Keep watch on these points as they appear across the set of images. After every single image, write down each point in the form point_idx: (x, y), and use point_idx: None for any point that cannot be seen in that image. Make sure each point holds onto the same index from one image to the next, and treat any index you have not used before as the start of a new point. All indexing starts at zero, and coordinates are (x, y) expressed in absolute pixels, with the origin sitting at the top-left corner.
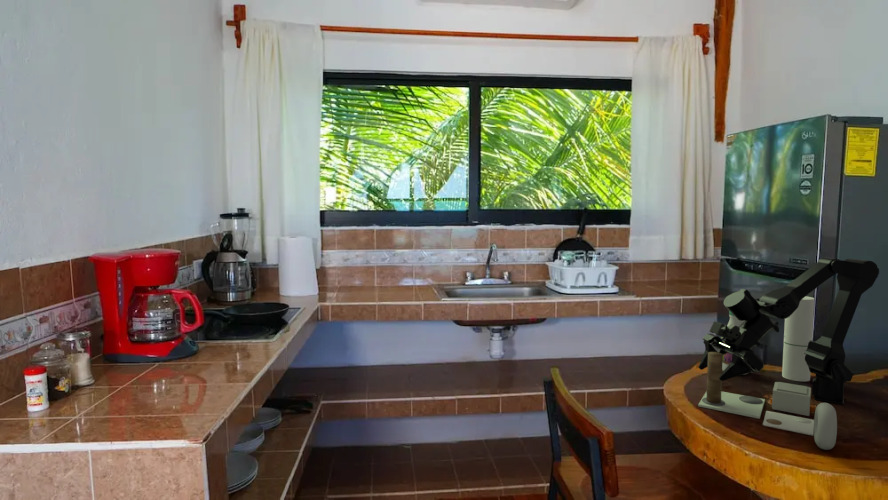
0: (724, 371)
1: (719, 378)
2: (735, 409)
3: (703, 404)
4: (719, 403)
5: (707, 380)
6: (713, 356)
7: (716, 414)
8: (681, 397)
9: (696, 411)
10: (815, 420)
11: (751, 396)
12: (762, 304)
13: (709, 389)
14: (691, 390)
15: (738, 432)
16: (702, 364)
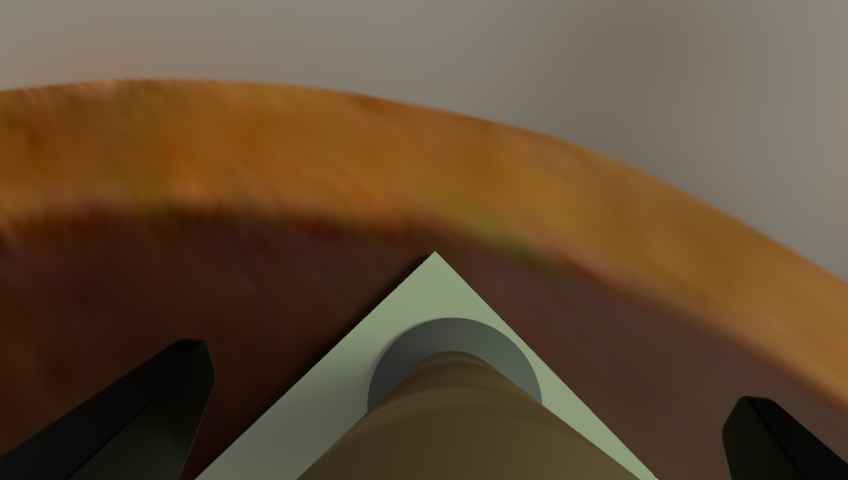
0: (83, 430)
1: (185, 338)
2: (273, 468)
3: (422, 287)
4: None
5: (483, 365)
6: (319, 466)
7: (277, 286)
8: (631, 244)
9: (357, 184)
10: None
11: None
12: None
13: (439, 357)
14: None
15: (10, 228)
16: (778, 472)
